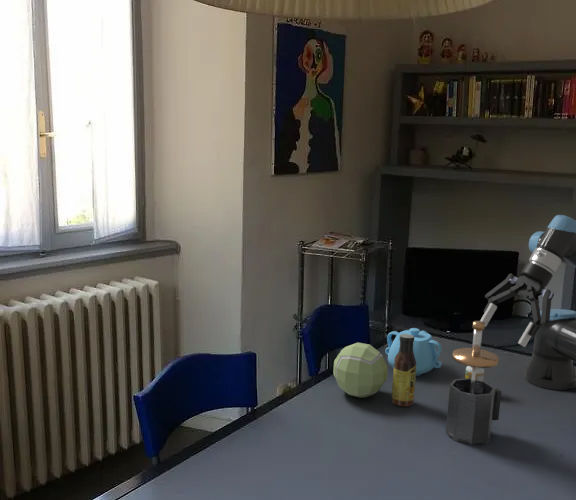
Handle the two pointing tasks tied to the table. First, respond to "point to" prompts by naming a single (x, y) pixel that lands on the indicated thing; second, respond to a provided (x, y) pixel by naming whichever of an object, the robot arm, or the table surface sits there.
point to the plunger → (476, 354)
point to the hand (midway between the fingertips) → (501, 334)
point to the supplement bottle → (478, 373)
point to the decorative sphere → (360, 370)
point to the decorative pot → (416, 350)
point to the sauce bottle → (404, 373)
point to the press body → (472, 411)
